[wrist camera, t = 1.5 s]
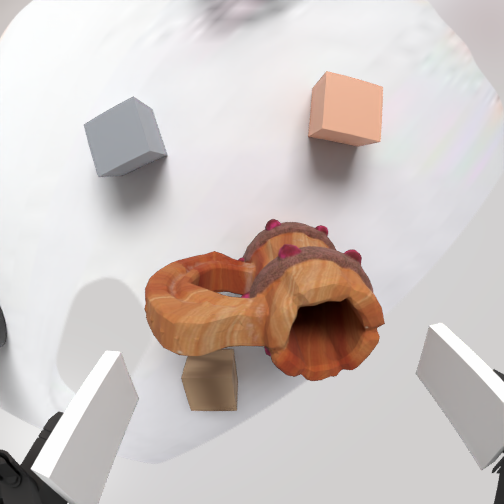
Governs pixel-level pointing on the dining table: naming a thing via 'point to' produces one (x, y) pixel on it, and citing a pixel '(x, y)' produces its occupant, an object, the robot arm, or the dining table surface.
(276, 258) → the mug
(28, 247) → the dining table surface
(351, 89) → the terracotta block
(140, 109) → the slate block
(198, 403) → the walnut block
